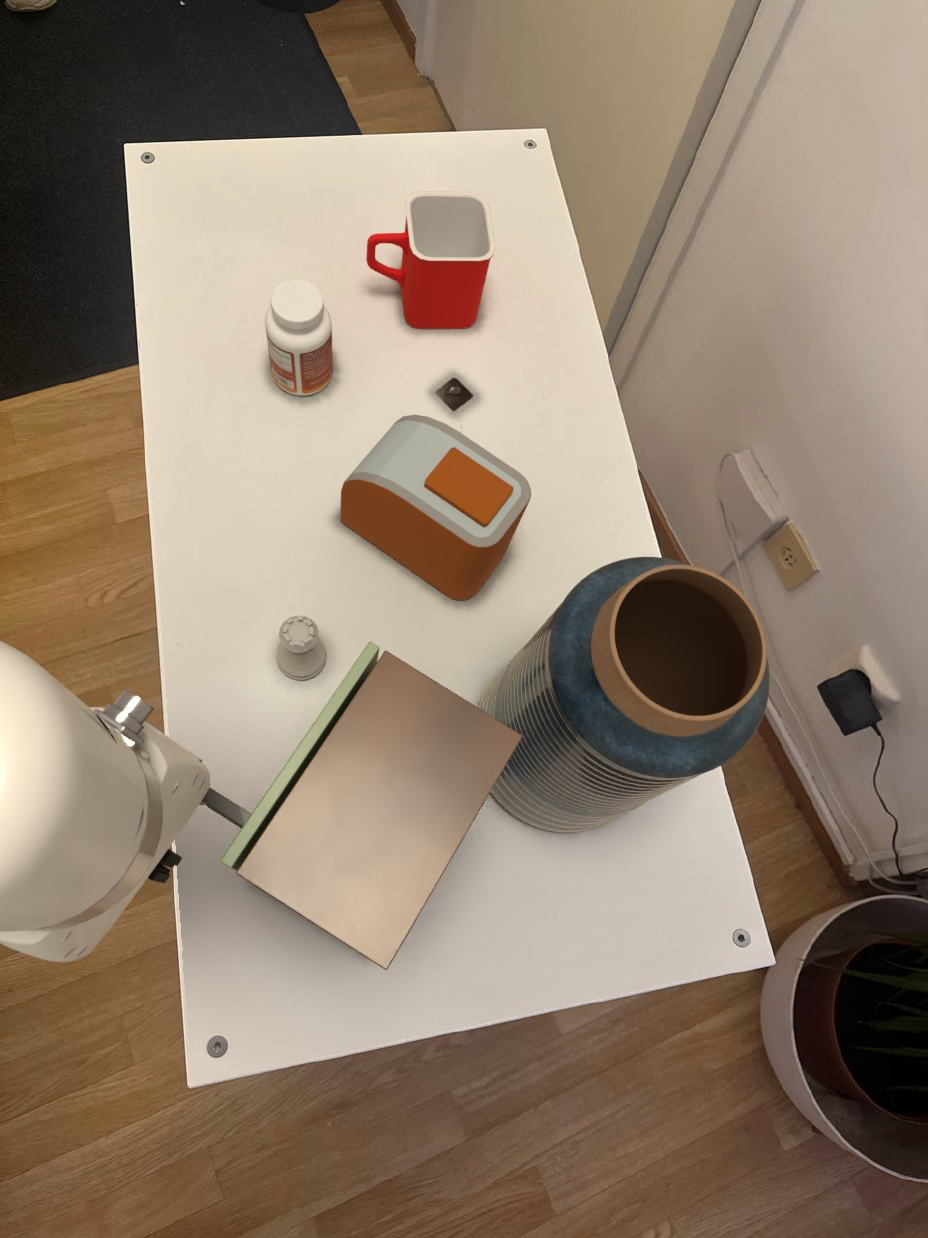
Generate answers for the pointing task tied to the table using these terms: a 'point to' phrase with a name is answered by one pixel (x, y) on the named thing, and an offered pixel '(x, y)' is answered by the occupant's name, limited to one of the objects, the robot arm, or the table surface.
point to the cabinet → (381, 809)
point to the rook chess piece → (300, 648)
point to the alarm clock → (436, 504)
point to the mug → (440, 258)
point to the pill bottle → (299, 338)
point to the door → (289, 766)
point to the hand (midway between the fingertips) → (150, 855)
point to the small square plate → (454, 394)
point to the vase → (628, 693)
